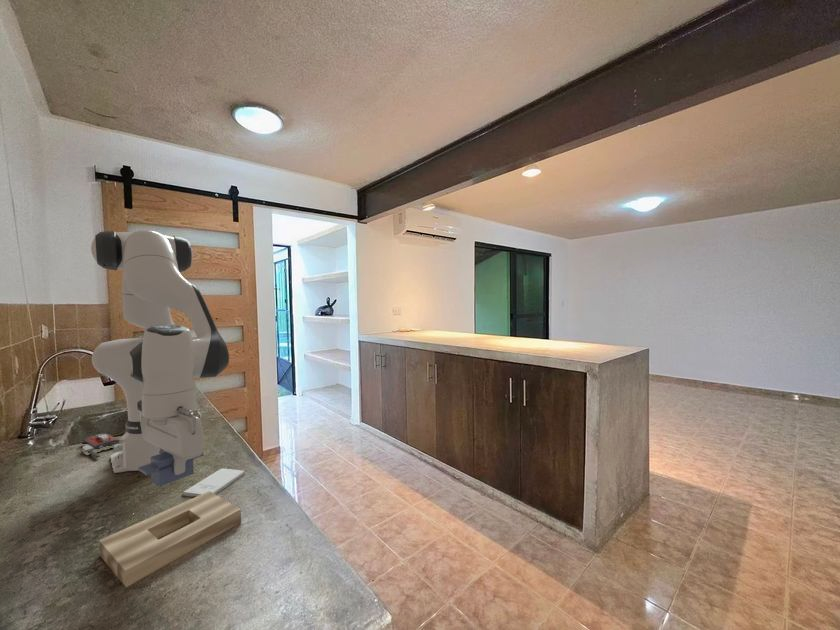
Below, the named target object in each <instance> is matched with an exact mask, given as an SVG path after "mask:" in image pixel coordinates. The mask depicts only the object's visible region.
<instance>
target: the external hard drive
mask: <svg viewBox="0 0 840 630" xmlns="http://www.w3.org/2000/svg"><path fill="white" fill-rule="evenodd" d="M245 475H246V472H245V470H239V469H230V468H220V469H218V470H217V471H215V472H213V473H212V474H210V475H209V476H206V477H205V478H204V479H202V480H200V481H198V482H197V483H195V484H194V485H192V486H191V487H189V488H187V489H185V490H184V491H183V492H182V493H181V494H182V496H185V497H193V498H195V497H197V496H199V495H201V494H204V493H206V492H208V491H210V492H212V493H214V494H215V495H217V494H218V493H220V492H221V491H223V490H225V489H226V488H227V487H228V486H229V487H230V485H231V484H233V483H234V482H236V481H237V480H239V479H240V478H242V477H243V476H245Z"/></svg>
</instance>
